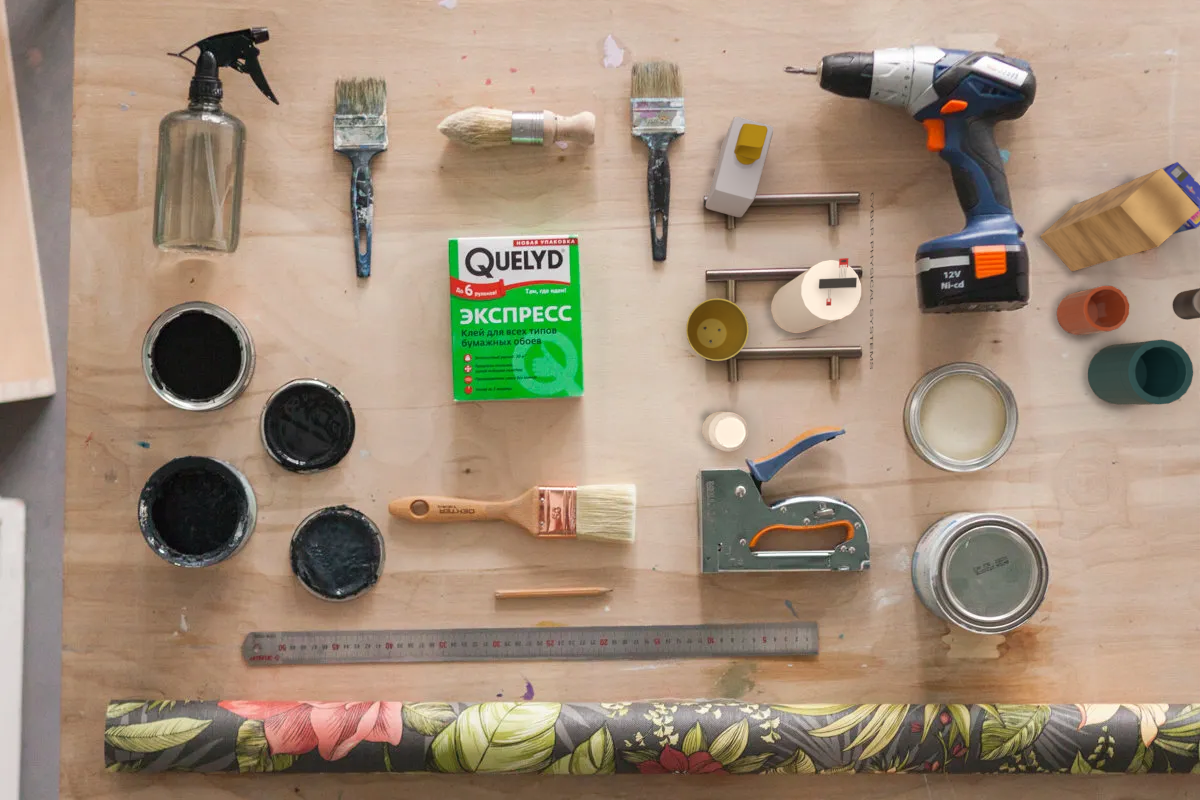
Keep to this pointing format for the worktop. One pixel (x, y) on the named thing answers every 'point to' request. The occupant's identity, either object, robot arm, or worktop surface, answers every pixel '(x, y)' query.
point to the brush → (1187, 304)
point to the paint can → (818, 296)
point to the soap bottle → (739, 167)
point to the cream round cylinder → (725, 431)
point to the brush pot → (1093, 310)
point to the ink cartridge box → (1186, 192)
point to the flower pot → (714, 318)
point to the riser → (1120, 221)
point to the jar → (1141, 373)
